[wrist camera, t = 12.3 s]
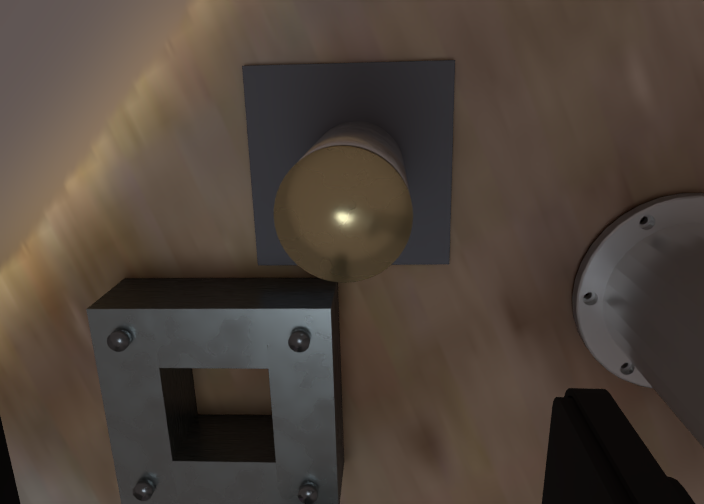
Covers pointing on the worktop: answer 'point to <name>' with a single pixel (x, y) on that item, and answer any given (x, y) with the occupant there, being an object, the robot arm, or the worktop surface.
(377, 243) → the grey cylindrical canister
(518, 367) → the worktop surface
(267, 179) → the rubber mat
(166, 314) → the housing
